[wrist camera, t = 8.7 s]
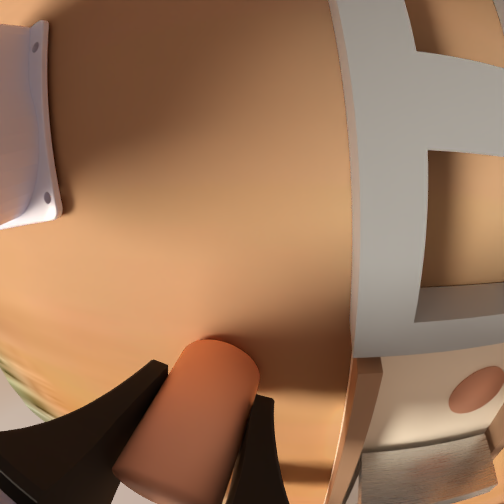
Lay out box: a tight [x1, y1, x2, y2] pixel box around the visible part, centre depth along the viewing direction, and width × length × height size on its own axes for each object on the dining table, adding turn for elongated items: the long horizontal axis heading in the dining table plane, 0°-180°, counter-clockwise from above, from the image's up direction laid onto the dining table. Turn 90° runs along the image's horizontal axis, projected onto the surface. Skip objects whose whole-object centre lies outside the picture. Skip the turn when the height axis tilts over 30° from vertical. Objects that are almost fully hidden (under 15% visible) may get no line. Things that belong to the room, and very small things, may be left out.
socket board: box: [328, 0, 504, 358], centre depth 6 cm, size 14×8×2 cm, turn 6°
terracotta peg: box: [112, 339, 260, 504], centre depth 9 cm, size 3×3×6 cm
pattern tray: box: [324, 343, 504, 504], centre depth 11 cm, size 19×10×2 cm, turn 7°
